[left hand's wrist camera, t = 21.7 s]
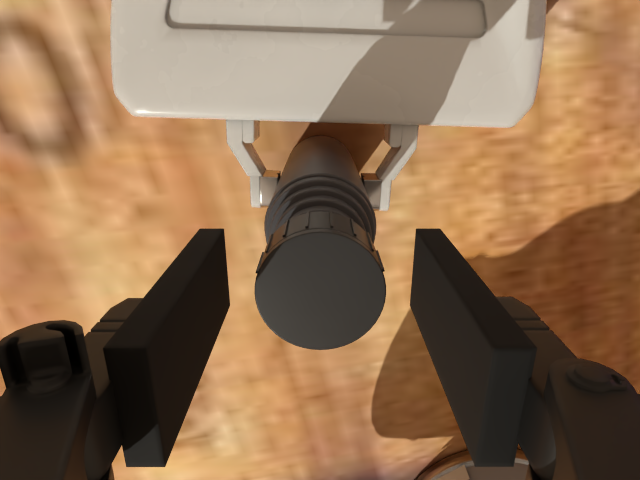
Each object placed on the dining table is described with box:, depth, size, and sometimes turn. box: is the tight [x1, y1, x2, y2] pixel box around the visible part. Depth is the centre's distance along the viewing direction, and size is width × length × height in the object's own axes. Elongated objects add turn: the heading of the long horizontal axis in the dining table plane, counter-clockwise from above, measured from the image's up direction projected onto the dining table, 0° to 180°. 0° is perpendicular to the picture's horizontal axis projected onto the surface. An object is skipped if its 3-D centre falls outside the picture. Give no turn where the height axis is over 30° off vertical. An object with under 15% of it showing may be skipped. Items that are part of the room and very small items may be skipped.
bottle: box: [265, 136, 376, 244], centre depth 21 cm, size 5×5×18 cm
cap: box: [255, 211, 386, 350], centre depth 13 cm, size 4×4×2 cm
